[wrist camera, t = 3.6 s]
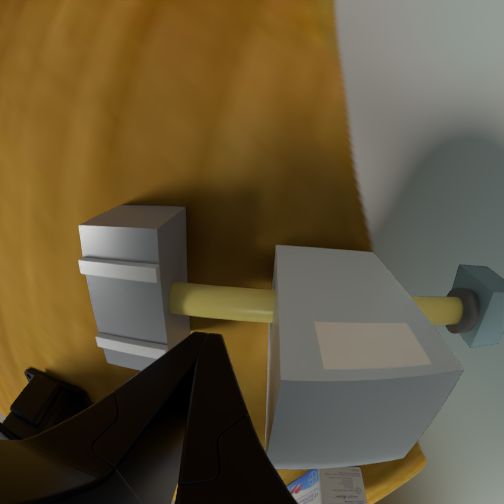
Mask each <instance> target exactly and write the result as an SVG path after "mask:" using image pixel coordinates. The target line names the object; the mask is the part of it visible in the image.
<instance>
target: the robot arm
mask: <svg viewBox="0 0 504 504" xmlns="http://www.w3.org/2000/svg"><path fill="white" fill-rule="evenodd" d="M24 373H25V376H26V378H27V379H28V381H29V383H28V385H27V386H26V387H25V388H24V390H23V391H22V392H21V393H20V395H19V396H18V397H17V399H16V400H15V401H14V402H13V404H12V405H11V407H10V410H11V412H10V413H9V415H8V416H7V417H6V419H5V420H4V421H3V423H1V422H0V504H171V501H172V499H173V496H174V492H175V489H176V486H177V483H178V488H177V494H176V500H175V504H298V503H297V501H296V500H295V499H294V497H293V496H292V494H291V493H290V491H289V490H288V488H287V487H286V485H285V484H284V482H283V480H282V479H281V477H280V476H279V474H278V473H277V471H276V469H275V468H274V466H273V464H272V463H271V461H270V460H269V458H268V456H267V454H266V452H265V450H264V449H263V447H262V445H261V443H260V441H259V439H258V436H257V434H256V432H255V429H254V427H253V424H252V421H251V419H250V416H249V415H248V411H247V408H246V405H245V402H244V399H243V396H242V394H241V391H240V388H239V385H238V382H237V379H236V376H235V373H234V370H233V367H232V364H231V361H230V358H229V355H228V351H227V348H226V345H225V342H224V339H223V336H222V334H217V333H206V332H198V331H195V332H193V333H192V334H190V335H189V336H188V337H186V338H185V339H184V340H182V341H181V342H180V343H178V344H177V345H176V346H174V347H173V348H172V349H170V350H169V351H168V352H166V353H165V354H164V355H162V356H161V357H159V358H158V359H157V360H155V361H154V362H153V363H151V364H150V365H149V366H147V367H146V368H144V369H143V370H142V371H140V372H139V373H138V374H136V375H135V376H133V377H132V378H131V379H129V380H128V381H127V382H125V383H124V384H122V385H121V386H120V387H118V388H117V389H115V390H114V392H111V393H110V394H108V395H107V396H105V397H104V398H103V399H101V400H100V401H98V402H96V403H95V404H93V405H92V404H91V402H90V399H89V397H88V395H87V393H86V392H85V391H83V390H82V389H80V388H77V387H74V386H71V385H68V384H65V383H63V382H60V381H57V380H55V379H52V378H50V377H47V376H45V375H42V374H40V373H38V372H35V371H33V370H31V369H26V371H25V372H24Z"/></svg>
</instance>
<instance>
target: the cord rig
mask: <svg viewBox="0 0 504 504" xmlns="http://www.w3.org/2000/svg"><path fill="white" fill-rule="evenodd" d="M79 232H80V240H81V247H82V254H83V257H82V258H81V259H79V260H78V261H79V267H80V272H81V274H86V278H87V283H88V288H89V293H90V298H91V303H92V307H93V312H94V316H95V320H96V324H97V328H98V332H99V333H98V334H97V335H96V336H95V337H96V341H97V344H98V347H102V348H103V350H104V353H105V356H106V360H107V363H110V364H114V365H118V366H122V367H127V368H131V369H136V370H140V371H142V370H143V369H144V368H146V367H147V366H149V365H150V364H151V363H153V362H154V361H155V360H157V359H158V358H159V357H161V356H162V355H164V354H165V353H166V352H168V351H169V350H170V349H172V348H173V347H174V346H176V345H177V344H178V343H180V342H181V341H182V340H184V339H185V338H186V337H188V336H189V334H190V332H191V330H190V316H198V317H207V318H217V319H227V320H239V321H251V322H264V323H272V322H273V312H274V303H275V290H267V289H253V288H240V287H228V286H216V285H205V284H194V283H188V277H187V247H186V207H179V206H148V205H119V206H117V207H115V208H113V209H111V210H109V211H107V212H104V213H102V214H100V215H98V216H96V217H94V218H92V219H90V220H88V221H86V222H84V223H82V224H80V225H79ZM411 298H412V299H413V300H414V301H415V303H416V304H417V305H418V306H419V308H420V309H421V310H422V312H423V313H424V314H425V315H426V317H427V318H428V319H429V321H430V322H431V323H432V325H446V328H447V329H448V330H449V331H450V332H451V333H459V334H460V336H461V337H462V338H463V339H464V340H465V342H466V343H467V344H468V346H469V347H470V348H473V347H480V346H486V345H493V344H499V342H500V340H501V337H502V335H503V333H504V279H503V278H501V277H500V276H499V275H498V274H496V273H495V272H494V271H492V270H491V269H489V268H488V267H484V266H471V265H459V267H458V271H457V274H456V277H455V281H454V284H453V287H452V290H451V291H450V292H449V293H448V295H447V297H420V296H416V297H415V296H411Z"/></svg>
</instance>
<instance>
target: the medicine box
mask: <svg viewBox="0 0 504 504" xmlns="http://www.w3.org/2000/svg"><path fill="white" fill-rule="evenodd" d="M286 487H287V488H288V490H289V491H290V493H291V494H292V496H293V497H294V499H295V500H296V501H297V503H298V504H367V500H366V495H365V489H364V484H363V478H362V473H361V469H360V467H352V466H348V467H337V468H321V469H310V470H309V471H307V472H306V473H305V474H303V475H302V476H301V477H299V478H298V479H296V480H295V481H294V482H292V483H291V484H289V485H288V486H286Z"/></svg>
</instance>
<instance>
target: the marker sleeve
mask: <svg viewBox="0 0 504 504" xmlns="http://www.w3.org/2000/svg"><path fill="white" fill-rule="evenodd" d="M272 290H275V303H274V312H273V322H272V323H269V335H268V371H267V401H266V427H265V452H266V454H267V456H268V458H269V460H270V461H271V463H272V464H273V466H274V468H275V469H321V468H337V467H348V466H357V465H365V464H373V463H379V462H385V461H391V460H397V459H402V458H404V457H405V456H406V454H407V453H408V452H409V451H410V449H411V448H412V447H413V446H414V444H415V443H416V442H417V441H418V439H419V438H420V437H421V435H422V434H423V433H424V431H425V430H426V429H427V427H428V426H429V424H430V423H431V422H432V420H433V419H434V418H435V416H436V415H437V413H438V412H439V410H440V409H441V407H442V405H443V404H444V402H445V401H446V399H447V398H448V396H449V395H450V393H451V391H452V390H453V388H454V386H455V385H456V383H457V381H458V380H459V378H460V376H461V374H462V373H463V371H464V368H463V367H462V366H461V364H460V362H459V361H458V360H457V358H456V357H455V355H454V354H453V352H452V351H451V349H450V348H449V347H448V345H447V344H446V342H445V341H444V340H443V338H442V337H441V336H440V334H439V333H438V331H437V330H436V329H435V327H434V326H433V325H432V323H431V322H430V321H429V319H428V318H427V317H426V315H425V314H424V313H423V312H422V310H421V309H420V308H419V306H418V305H417V304H416V303H415V301H414V300H413V299H412V298H411V296H410V295H409V294H408V293H407V291H406V290H405V289H404V288H403V286H402V285H401V284H400V283H399V282H398V280H397V279H396V278H395V277H394V276H393V274H392V273H391V272H390V271H389V270H388V269H387V267H386V266H385V265H384V264H383V263H382V262H381V261H380V259H379V258H378V257H377V256H376V255H375V253H374V252H365V251H353V250H340V249H327V248H313V247H300V246H286V245H276V251H275V262H274V273H273V284H272Z"/></svg>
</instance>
